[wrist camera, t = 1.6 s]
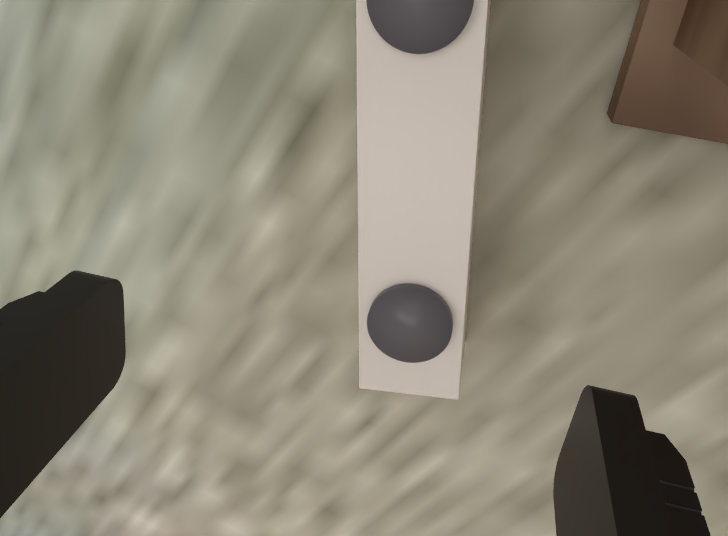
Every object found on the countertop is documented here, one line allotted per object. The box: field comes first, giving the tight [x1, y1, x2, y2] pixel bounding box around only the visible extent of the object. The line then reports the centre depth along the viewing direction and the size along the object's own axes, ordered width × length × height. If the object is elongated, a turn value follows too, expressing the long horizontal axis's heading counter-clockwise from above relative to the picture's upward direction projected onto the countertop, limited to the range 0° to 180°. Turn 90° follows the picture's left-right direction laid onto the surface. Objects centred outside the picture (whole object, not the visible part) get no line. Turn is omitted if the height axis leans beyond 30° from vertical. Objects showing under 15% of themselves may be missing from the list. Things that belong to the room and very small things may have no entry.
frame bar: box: [356, 0, 491, 400], centre depth 22 cm, size 16×4×4 cm, turn 0°
